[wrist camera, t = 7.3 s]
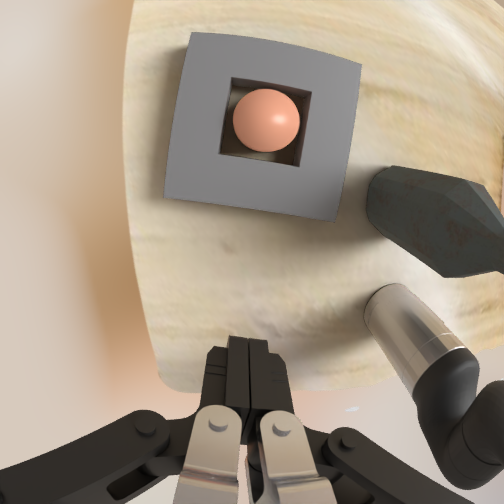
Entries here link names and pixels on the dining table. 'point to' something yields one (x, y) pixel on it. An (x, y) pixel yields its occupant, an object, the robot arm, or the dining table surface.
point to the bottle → (439, 220)
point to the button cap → (266, 120)
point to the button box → (253, 170)
